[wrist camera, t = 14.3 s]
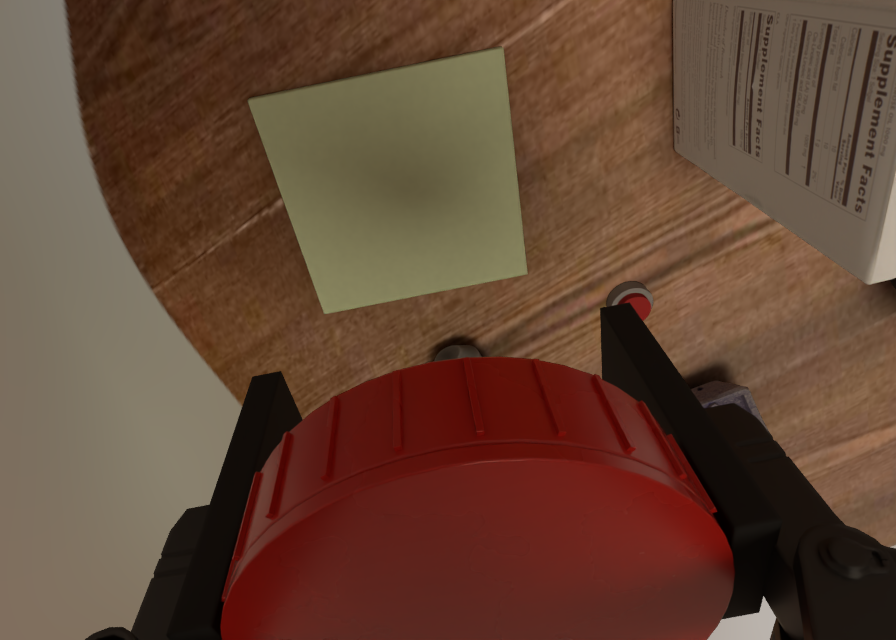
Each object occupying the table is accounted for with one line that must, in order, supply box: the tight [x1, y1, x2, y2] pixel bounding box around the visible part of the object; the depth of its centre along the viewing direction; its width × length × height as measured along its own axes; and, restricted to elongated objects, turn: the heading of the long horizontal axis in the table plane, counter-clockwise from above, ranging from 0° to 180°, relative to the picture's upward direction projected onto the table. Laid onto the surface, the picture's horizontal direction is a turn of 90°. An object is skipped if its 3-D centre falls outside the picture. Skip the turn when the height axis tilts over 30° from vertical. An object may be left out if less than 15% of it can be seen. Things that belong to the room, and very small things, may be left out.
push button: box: [607, 281, 653, 321], centre depth 39 cm, size 3×3×2 cm
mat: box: [248, 46, 527, 314], centre depth 33 cm, size 14×14×1 cm
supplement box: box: [673, 0, 896, 285], centre depth 24 cm, size 10×9×17 cm
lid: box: [220, 356, 735, 640], centre depth 10 cm, size 8×8×2 cm
